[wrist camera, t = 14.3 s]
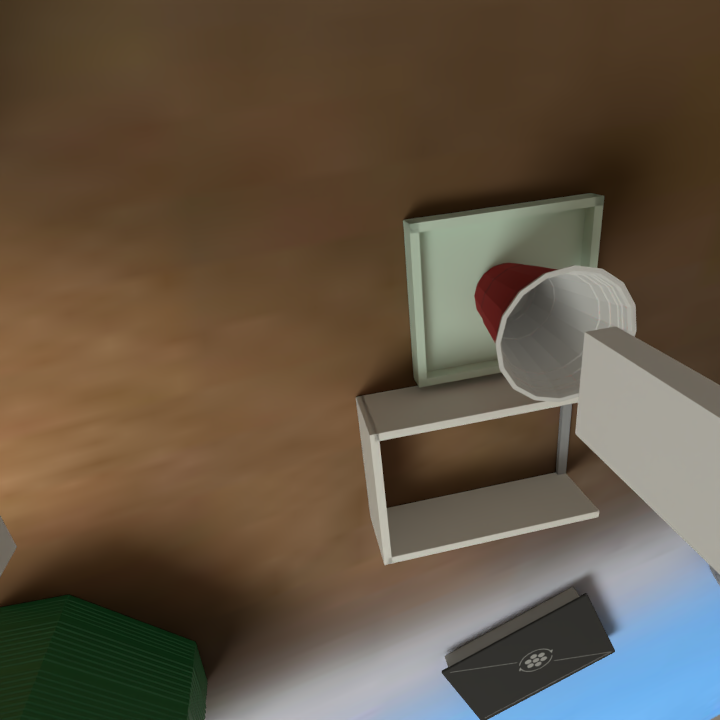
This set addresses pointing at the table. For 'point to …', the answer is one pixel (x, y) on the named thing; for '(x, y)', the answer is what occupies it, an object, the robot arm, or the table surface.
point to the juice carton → (715, 575)
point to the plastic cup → (549, 322)
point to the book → (528, 654)
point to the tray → (474, 258)
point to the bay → (470, 508)
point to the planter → (94, 665)
